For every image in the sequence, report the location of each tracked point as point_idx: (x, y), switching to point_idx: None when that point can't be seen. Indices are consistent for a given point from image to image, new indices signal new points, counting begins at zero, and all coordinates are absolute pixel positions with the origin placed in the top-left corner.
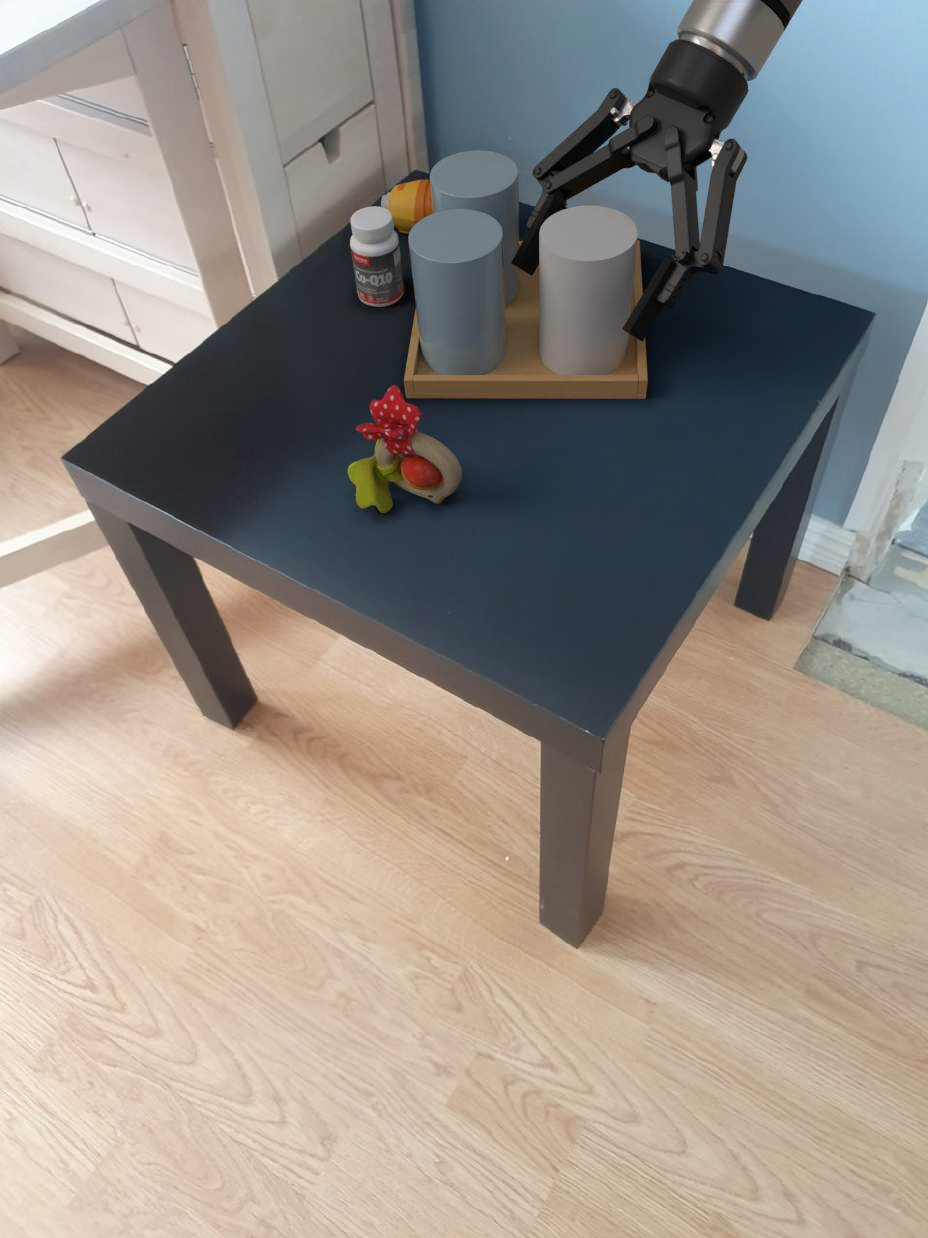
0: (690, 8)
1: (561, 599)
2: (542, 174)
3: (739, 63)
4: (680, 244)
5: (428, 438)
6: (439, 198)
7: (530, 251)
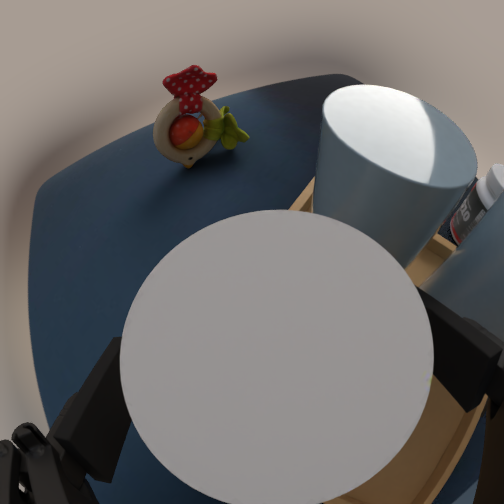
0: None
1: (77, 198)
2: None
3: None
4: (44, 469)
5: (167, 106)
6: None
7: None
